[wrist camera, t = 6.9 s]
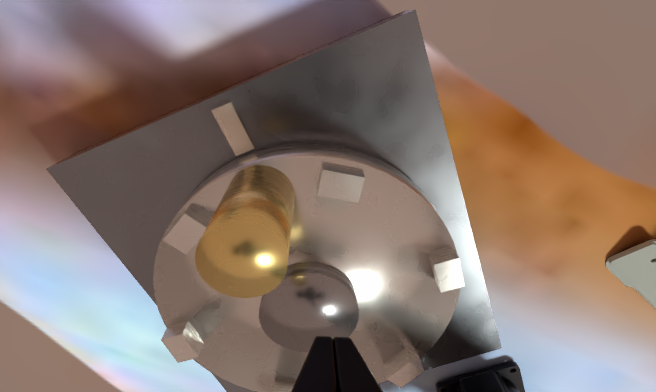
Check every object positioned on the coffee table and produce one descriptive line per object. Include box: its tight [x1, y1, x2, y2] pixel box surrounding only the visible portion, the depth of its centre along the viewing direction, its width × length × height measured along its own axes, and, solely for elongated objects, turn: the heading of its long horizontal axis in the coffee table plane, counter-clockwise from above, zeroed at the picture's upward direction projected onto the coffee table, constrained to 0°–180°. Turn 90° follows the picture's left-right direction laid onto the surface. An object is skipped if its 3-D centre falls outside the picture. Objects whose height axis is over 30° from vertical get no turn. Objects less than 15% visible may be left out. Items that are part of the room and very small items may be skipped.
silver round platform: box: [153, 144, 465, 392], centre depth 18 cm, size 16×16×7 cm
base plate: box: [47, 10, 502, 392], centre depth 22 cm, size 22×19×2 cm
